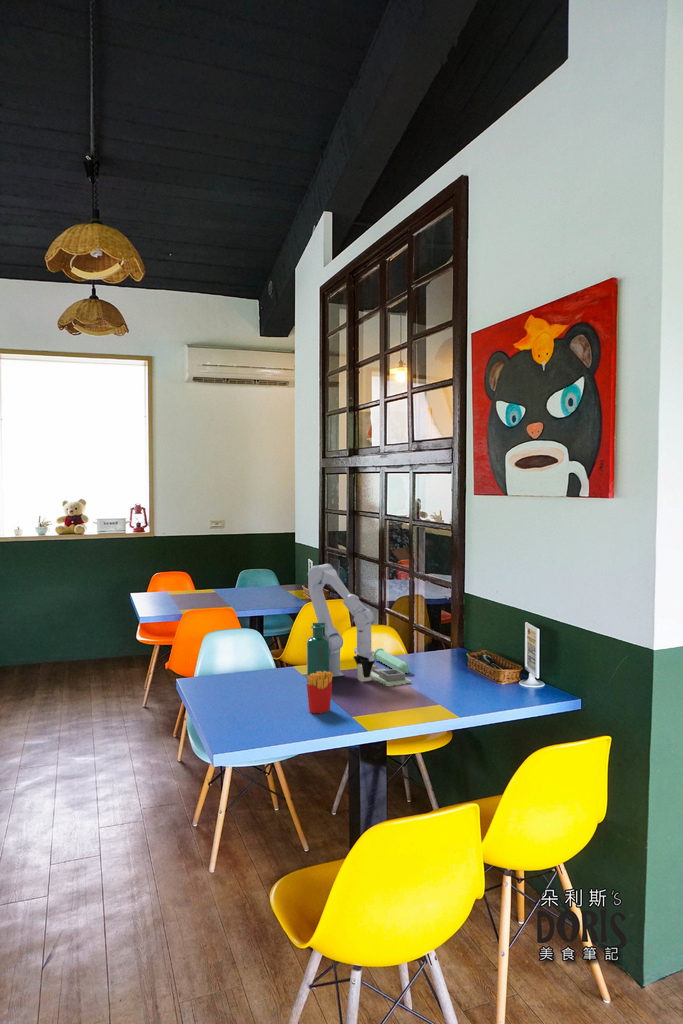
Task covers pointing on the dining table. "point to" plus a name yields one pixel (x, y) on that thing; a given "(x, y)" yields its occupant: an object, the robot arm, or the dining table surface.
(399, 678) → the outlet plate
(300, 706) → the dining table surface
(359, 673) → the block
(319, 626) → the green bottle
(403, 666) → the container
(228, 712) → the dining table surface
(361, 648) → the robot arm
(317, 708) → the french fries
